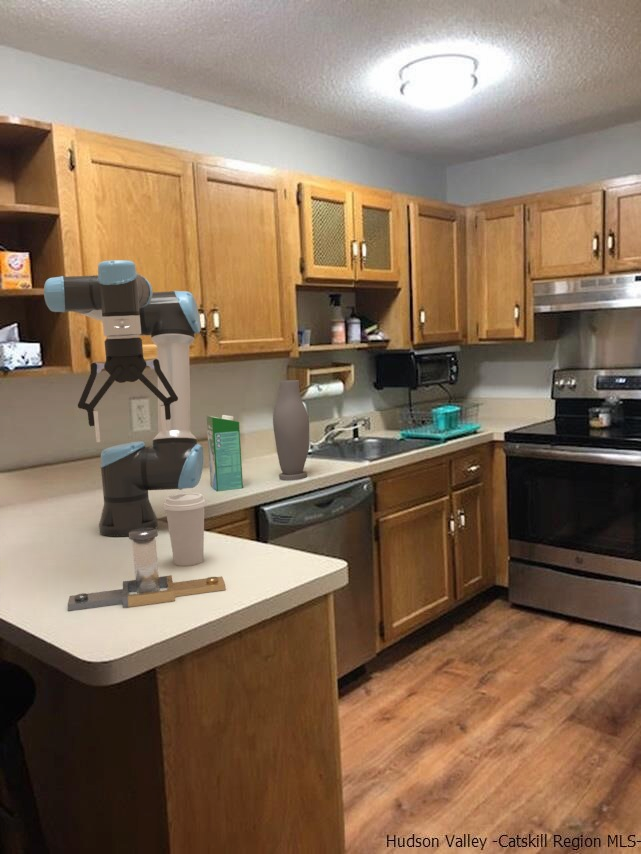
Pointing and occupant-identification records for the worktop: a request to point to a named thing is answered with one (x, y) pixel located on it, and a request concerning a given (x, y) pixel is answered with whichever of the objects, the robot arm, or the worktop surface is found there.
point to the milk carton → (224, 453)
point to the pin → (145, 559)
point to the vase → (291, 431)
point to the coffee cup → (186, 527)
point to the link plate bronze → (177, 590)
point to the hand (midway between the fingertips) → (132, 438)
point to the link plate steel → (107, 596)
